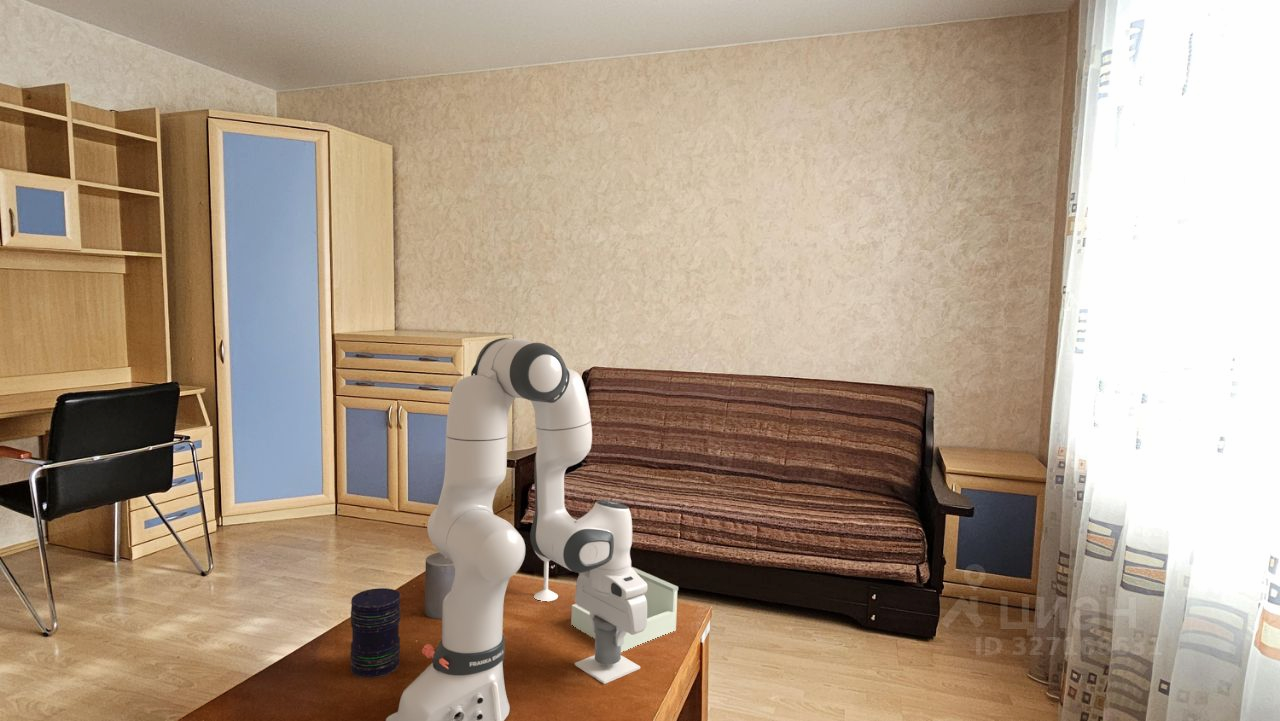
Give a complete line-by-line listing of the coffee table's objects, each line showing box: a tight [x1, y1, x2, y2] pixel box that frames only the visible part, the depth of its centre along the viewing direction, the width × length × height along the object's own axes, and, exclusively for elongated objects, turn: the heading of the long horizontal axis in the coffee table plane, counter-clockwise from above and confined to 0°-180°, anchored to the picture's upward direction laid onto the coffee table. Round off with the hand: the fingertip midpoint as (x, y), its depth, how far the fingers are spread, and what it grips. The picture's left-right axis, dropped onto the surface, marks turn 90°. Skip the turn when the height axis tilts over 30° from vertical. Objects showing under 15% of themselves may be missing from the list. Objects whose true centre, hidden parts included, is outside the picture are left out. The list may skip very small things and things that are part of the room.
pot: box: [594, 615, 622, 664], centre depth 151 cm, size 6×6×9 cm
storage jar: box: [349, 587, 401, 679], centre depth 148 cm, size 10×10×15 cm
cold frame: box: [570, 566, 679, 653], centre depth 170 cm, size 18×18×11 cm
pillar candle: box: [424, 551, 455, 620], centre depth 176 cm, size 10×10×15 cm
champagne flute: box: [533, 549, 559, 602], centre depth 187 cm, size 7×7×24 cm
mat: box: [574, 654, 641, 685], centre depth 152 cm, size 10×10×1 cm
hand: (608, 638), depth 151 cm, fingers closed on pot, 5 cm apart
